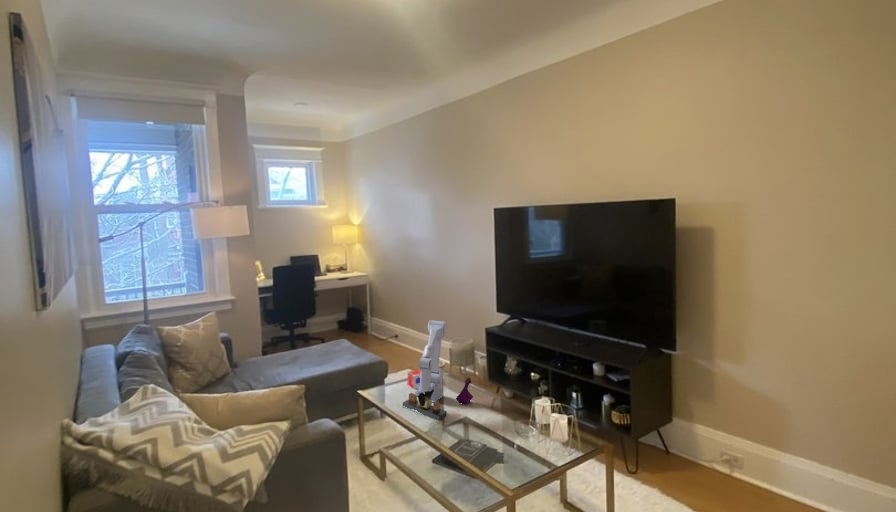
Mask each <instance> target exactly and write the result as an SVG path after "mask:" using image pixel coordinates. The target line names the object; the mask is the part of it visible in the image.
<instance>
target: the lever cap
mask: <svg viewBox="0 0 896 512" xmlns="http://www.w3.org/2000/svg"><path fill="white" fill-rule="evenodd" d="M417 400H418V405H419V406H420V403H419V399H418V398H417ZM432 403H433V402H432V399H431V398H428V397H425V402H424V406H421V407H424V408H428V407H430V406H432Z"/></svg>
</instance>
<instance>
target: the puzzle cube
mask: <svg viewBox="0 0 896 512" xmlns="http://www.w3.org/2000/svg"><path fill="white" fill-rule="evenodd" d="M419 370H420V369H416V370H410V371H407V383H406V384H407V385H408V386H409V387H411V388H412V389H413V390H418V388H419V387H420V371H419Z"/></svg>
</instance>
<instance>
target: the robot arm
mask: <svg viewBox="0 0 896 512" xmlns="http://www.w3.org/2000/svg"><path fill="white" fill-rule="evenodd" d="M447 325H448V324H447V322H446V321H445V320H444V321H442V320H441V321H440V320H432V319H429V321H428V322H427V330H428V333H429V336H428V340H427V341H428V342H427V344H426V345H425V346H424V349H423V352H422V355H421V357H420V358H419V360H418V368H419V369H418V370H419V371H420V387H419V388H417V389H416V390H415V391H414V394H415V395H416V396H417V400H418V399H419V403H420V406H424V402H425V397H428V398H431V399H432V402H431V403H437V401H439V400H441V399H440V398H439V397H440V396H443V379H444V378H443V372H444V371H443V368H441V367H440V366H439V363H440V355H441V350H442V349H441V346H442V341H443V338H444V337H446V335H447V328H448V326H447ZM438 398H439V400H438Z"/></svg>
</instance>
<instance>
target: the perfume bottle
mask: <svg viewBox="0 0 896 512" xmlns="http://www.w3.org/2000/svg"><path fill="white" fill-rule="evenodd" d="M464 374H465V375H466V376H467V377H466V378H465V379H464V380H463V381H464V385H463V389H462V390H461V391H460V392H459V394H458V395H457V396H456V397H455V400H456V401H457V402H458V404H459V403H462V404H461V405H463V404H467V405H469V403H470V402H471V401H472V399H473V398H474V395H472V394H471V393H470V391H469V390H468V388H469V385H470V384H472V378H471V377H469V372H468V371H463V372H462V374H461V375H464ZM470 400H471V401H470Z"/></svg>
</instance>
